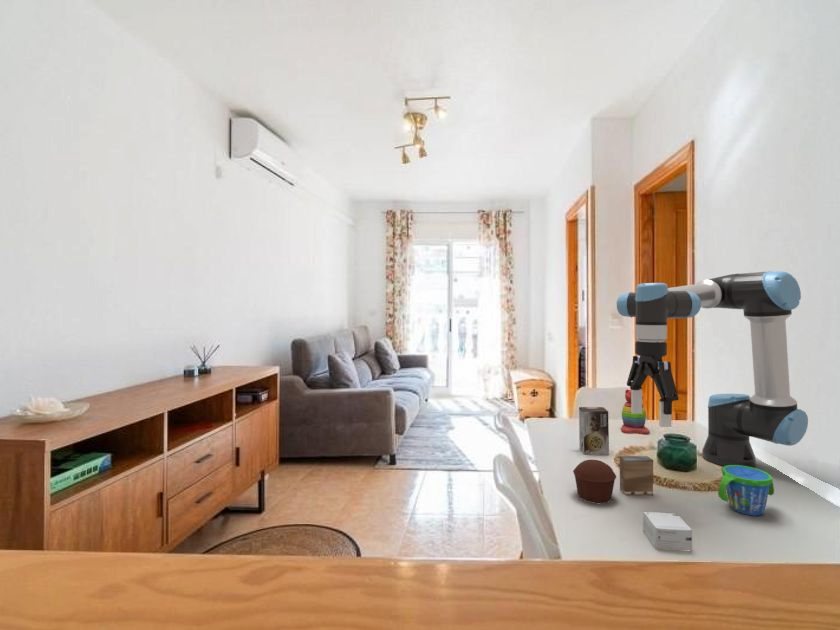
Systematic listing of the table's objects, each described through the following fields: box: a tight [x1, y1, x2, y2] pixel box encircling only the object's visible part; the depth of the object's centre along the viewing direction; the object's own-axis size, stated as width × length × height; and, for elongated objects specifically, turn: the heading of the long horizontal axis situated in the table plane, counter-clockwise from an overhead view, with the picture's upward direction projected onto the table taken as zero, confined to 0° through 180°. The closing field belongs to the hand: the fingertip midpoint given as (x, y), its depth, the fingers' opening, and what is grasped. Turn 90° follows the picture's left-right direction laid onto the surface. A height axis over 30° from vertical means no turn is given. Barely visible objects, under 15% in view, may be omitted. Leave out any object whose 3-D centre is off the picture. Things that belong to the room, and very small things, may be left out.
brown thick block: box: [619, 455, 654, 496], centre depth 125 cm, size 4×8×10 cm, turn 90°
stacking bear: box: [620, 389, 651, 435], centre depth 184 cm, size 11×10×18 cm
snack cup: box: [717, 465, 775, 517], centre depth 113 cm, size 16×10×10 cm
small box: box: [642, 511, 693, 552], centre depth 99 cm, size 8×8×5 cm
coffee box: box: [578, 406, 610, 455], centre depth 159 cm, size 9×6×16 cm
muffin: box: [572, 459, 617, 504], centre depth 122 cm, size 12×11×10 cm
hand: (650, 419), depth 115 cm, fingers open, 13 cm apart
